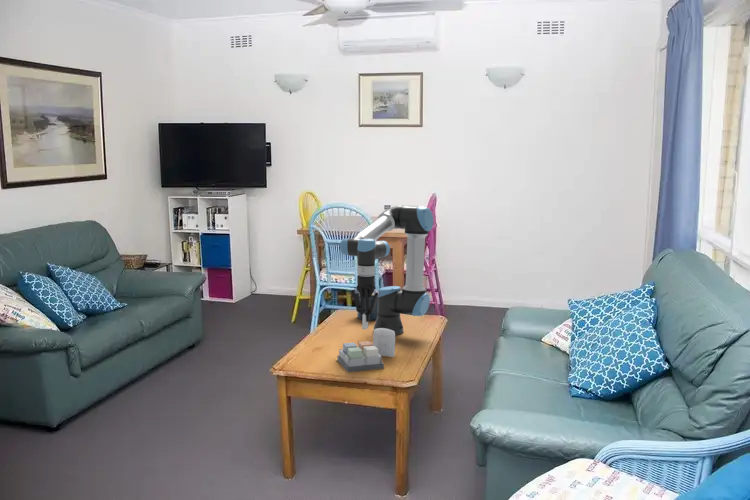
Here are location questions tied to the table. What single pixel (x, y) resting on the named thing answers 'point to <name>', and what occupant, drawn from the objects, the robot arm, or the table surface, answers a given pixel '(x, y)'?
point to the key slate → (348, 345)
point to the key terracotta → (364, 344)
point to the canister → (373, 315)
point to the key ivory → (370, 351)
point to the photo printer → (384, 341)
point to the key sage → (354, 353)
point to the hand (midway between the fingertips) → (365, 328)
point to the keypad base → (360, 362)
